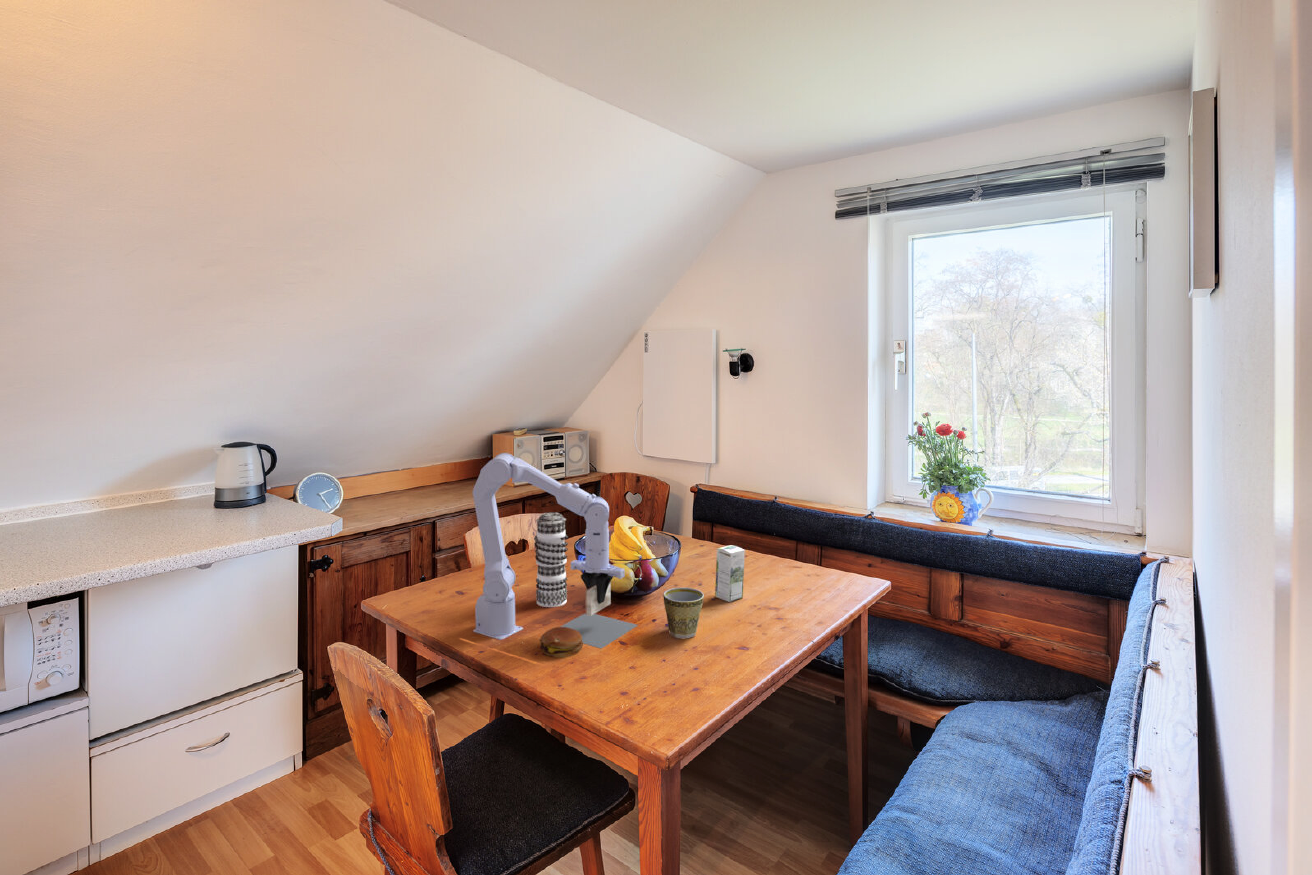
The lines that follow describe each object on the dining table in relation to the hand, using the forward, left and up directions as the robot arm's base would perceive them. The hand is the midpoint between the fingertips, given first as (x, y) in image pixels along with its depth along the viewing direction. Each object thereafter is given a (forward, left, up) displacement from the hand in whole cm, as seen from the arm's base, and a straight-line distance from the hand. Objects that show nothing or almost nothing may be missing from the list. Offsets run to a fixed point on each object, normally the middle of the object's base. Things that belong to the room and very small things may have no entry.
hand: (597, 601), depth 165 cm
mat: (-1, 0, -8) cm, 8 cm away
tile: (0, 0, -2) cm, 2 cm away
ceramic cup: (+18, +12, -8) cm, 23 cm away
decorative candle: (-22, +9, -8) cm, 25 cm away
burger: (-1, -13, -8) cm, 15 cm away
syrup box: (+18, +39, -8) cm, 44 cm away
